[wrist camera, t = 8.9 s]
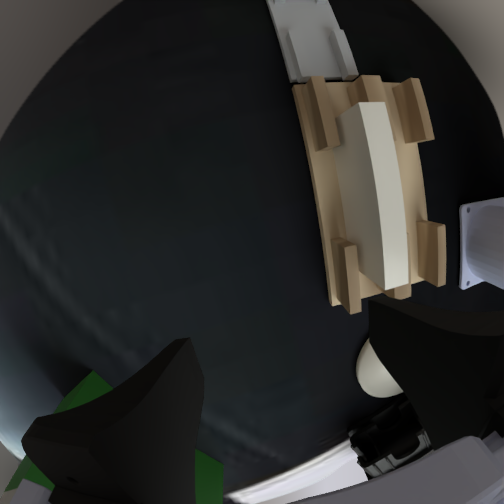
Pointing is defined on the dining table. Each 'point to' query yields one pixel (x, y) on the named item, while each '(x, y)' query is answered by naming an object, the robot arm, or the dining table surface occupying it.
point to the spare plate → (374, 374)
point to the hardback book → (88, 390)
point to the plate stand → (311, 40)
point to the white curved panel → (372, 193)
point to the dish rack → (328, 192)
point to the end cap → (389, 438)
